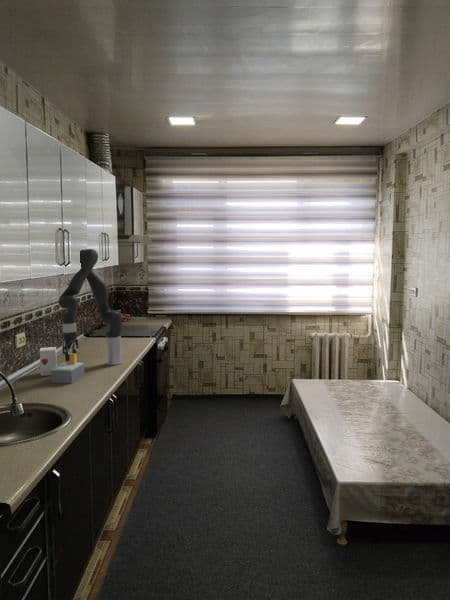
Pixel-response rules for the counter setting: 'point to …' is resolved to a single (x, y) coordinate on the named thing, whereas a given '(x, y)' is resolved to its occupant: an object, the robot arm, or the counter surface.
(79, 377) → the tub
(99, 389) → the counter surface
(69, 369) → the lid
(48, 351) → the supplement box
